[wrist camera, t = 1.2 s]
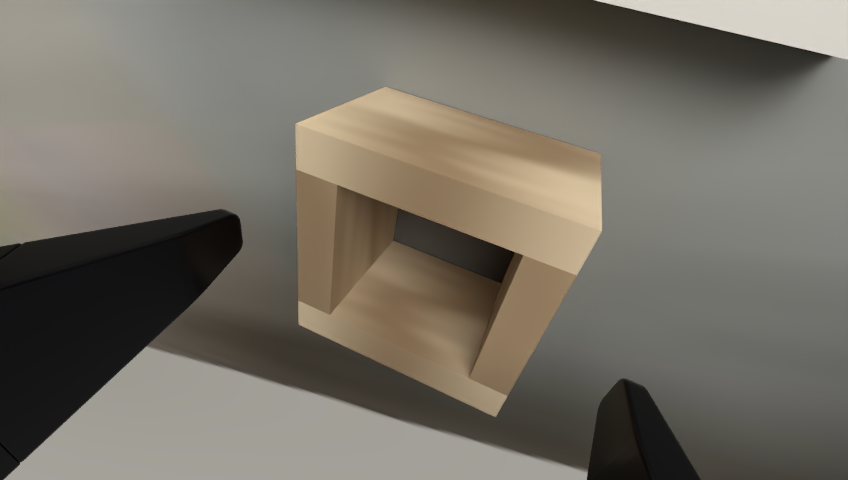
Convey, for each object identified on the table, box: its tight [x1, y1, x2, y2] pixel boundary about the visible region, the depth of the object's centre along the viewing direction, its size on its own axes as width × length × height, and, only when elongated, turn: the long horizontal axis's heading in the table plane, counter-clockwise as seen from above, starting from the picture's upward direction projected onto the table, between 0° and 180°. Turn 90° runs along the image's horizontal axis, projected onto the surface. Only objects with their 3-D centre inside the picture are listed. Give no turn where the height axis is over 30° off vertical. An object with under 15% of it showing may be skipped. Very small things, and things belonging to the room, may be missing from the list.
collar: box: [296, 87, 602, 417], centre depth 10 cm, size 6×6×4 cm
